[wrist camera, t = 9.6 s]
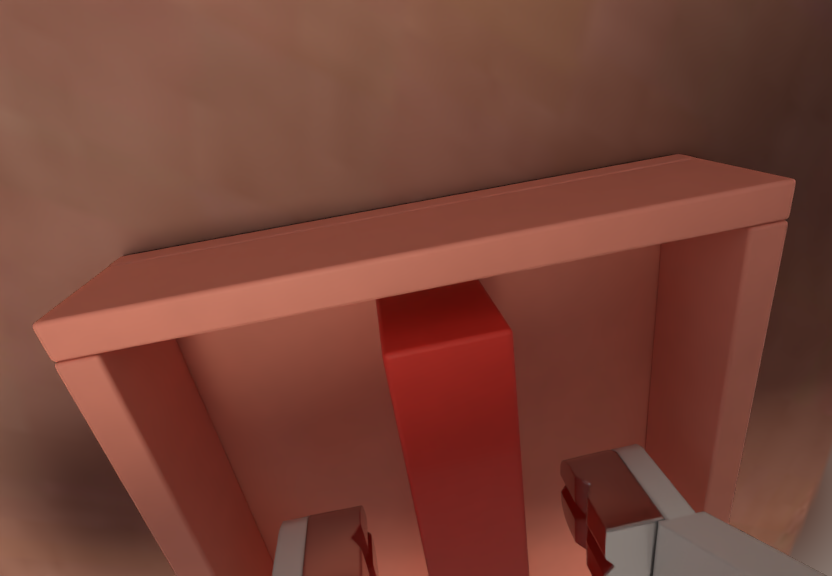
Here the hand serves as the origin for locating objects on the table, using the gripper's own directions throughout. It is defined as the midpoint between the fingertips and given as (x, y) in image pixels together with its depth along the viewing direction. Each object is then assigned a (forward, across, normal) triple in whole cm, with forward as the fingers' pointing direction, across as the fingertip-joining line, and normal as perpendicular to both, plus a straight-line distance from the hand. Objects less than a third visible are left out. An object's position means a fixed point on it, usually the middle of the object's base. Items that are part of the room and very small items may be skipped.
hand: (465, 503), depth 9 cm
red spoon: (+1, 0, +2) cm, 2 cm away
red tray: (+2, 0, +3) cm, 3 cm away
